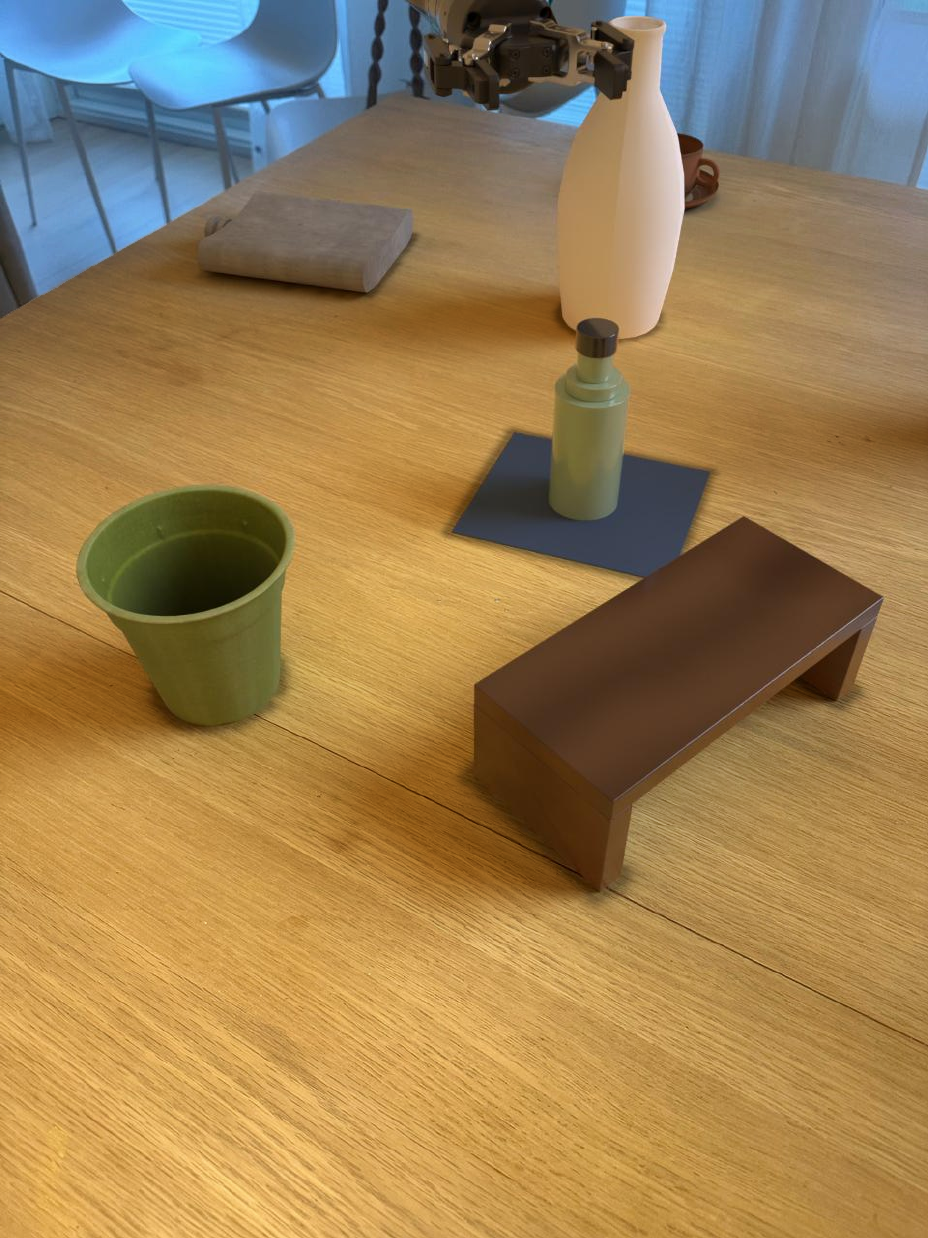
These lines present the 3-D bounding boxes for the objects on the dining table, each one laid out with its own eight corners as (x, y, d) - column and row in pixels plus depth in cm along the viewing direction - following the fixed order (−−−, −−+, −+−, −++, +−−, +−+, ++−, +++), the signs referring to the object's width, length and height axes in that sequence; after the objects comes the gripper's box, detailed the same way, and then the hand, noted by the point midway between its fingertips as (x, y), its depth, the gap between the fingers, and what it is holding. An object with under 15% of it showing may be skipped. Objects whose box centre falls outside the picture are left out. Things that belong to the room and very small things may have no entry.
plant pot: (157, 617, 70) (118, 478, 63) (332, 628, 69) (314, 489, 62) (94, 753, 62) (39, 612, 54) (292, 769, 61) (266, 627, 53)
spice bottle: (632, 500, 79) (654, 328, 69) (584, 530, 76) (600, 355, 66) (581, 471, 81) (595, 301, 72) (533, 498, 79) (541, 326, 69)
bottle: (586, 359, 95) (611, 49, 78) (531, 307, 102) (542, 13, 85) (691, 334, 98) (737, 31, 81) (630, 285, 106) (660, -2, 88)
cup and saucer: (718, 183, 125) (727, 129, 121) (713, 223, 117) (722, 166, 112) (618, 175, 127) (623, 122, 123) (605, 214, 119) (609, 158, 114)
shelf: (473, 780, 60) (473, 684, 55) (723, 610, 70) (743, 515, 65) (599, 897, 54) (613, 802, 49) (850, 693, 65) (885, 596, 59)
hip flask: (362, 266, 100) (171, 241, 104) (364, 306, 103) (179, 280, 107) (413, 204, 112) (239, 184, 116) (414, 241, 114) (244, 220, 118)
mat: (709, 476, 82) (710, 471, 81) (668, 588, 72) (669, 582, 72) (514, 436, 86) (514, 431, 86) (451, 537, 76) (451, 531, 76)
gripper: (399, -26, 77) (451, 33, 65) (584, -38, 79) (666, 17, 68) (404, 85, 82) (453, 158, 70) (578, 70, 84) (652, 138, 73)
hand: (557, 88), depth 69 cm, fingers open, 8 cm apart
